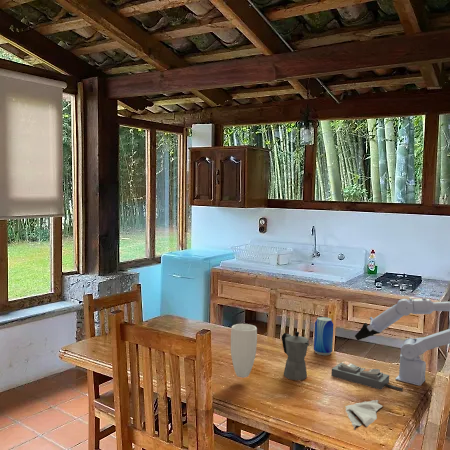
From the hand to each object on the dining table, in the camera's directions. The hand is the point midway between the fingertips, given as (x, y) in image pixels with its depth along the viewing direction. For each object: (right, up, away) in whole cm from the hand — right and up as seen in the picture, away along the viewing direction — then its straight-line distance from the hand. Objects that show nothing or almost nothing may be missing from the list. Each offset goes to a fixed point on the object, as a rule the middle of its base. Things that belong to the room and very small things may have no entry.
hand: (359, 337), depth 193 cm
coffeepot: (-28, -14, -7) cm, 32 cm away
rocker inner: (+1, -11, -12) cm, 16 cm away
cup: (-49, -14, -16) cm, 54 cm away
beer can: (-11, -13, +21) cm, 27 cm away
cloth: (-9, -17, -38) cm, 43 cm away
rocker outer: (-6, -10, -7) cm, 14 cm away
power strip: (0, -15, -11) cm, 18 cm away
